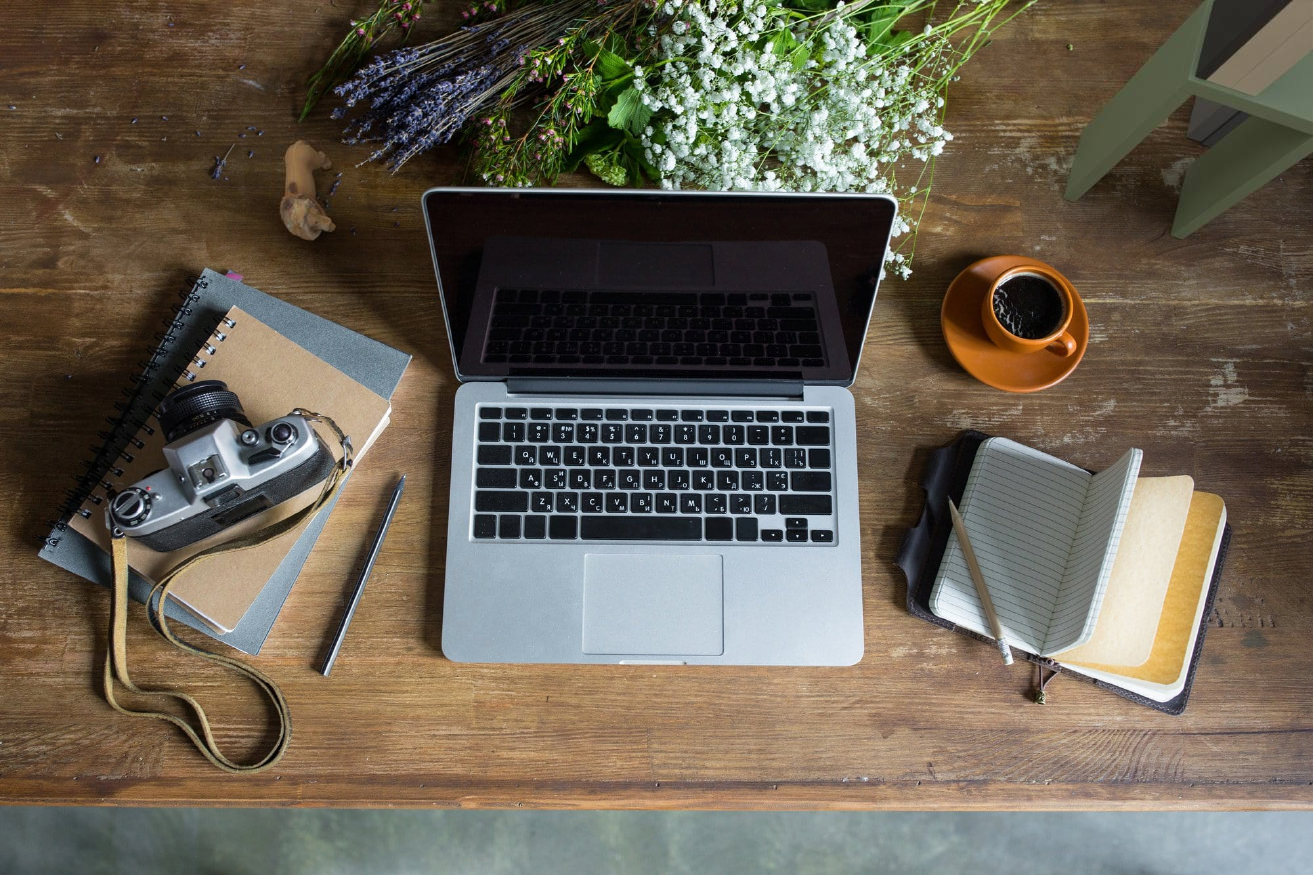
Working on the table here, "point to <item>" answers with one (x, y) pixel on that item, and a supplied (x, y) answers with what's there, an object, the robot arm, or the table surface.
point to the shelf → (1263, 146)
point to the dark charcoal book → (1254, 42)
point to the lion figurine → (303, 192)
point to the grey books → (1213, 121)
